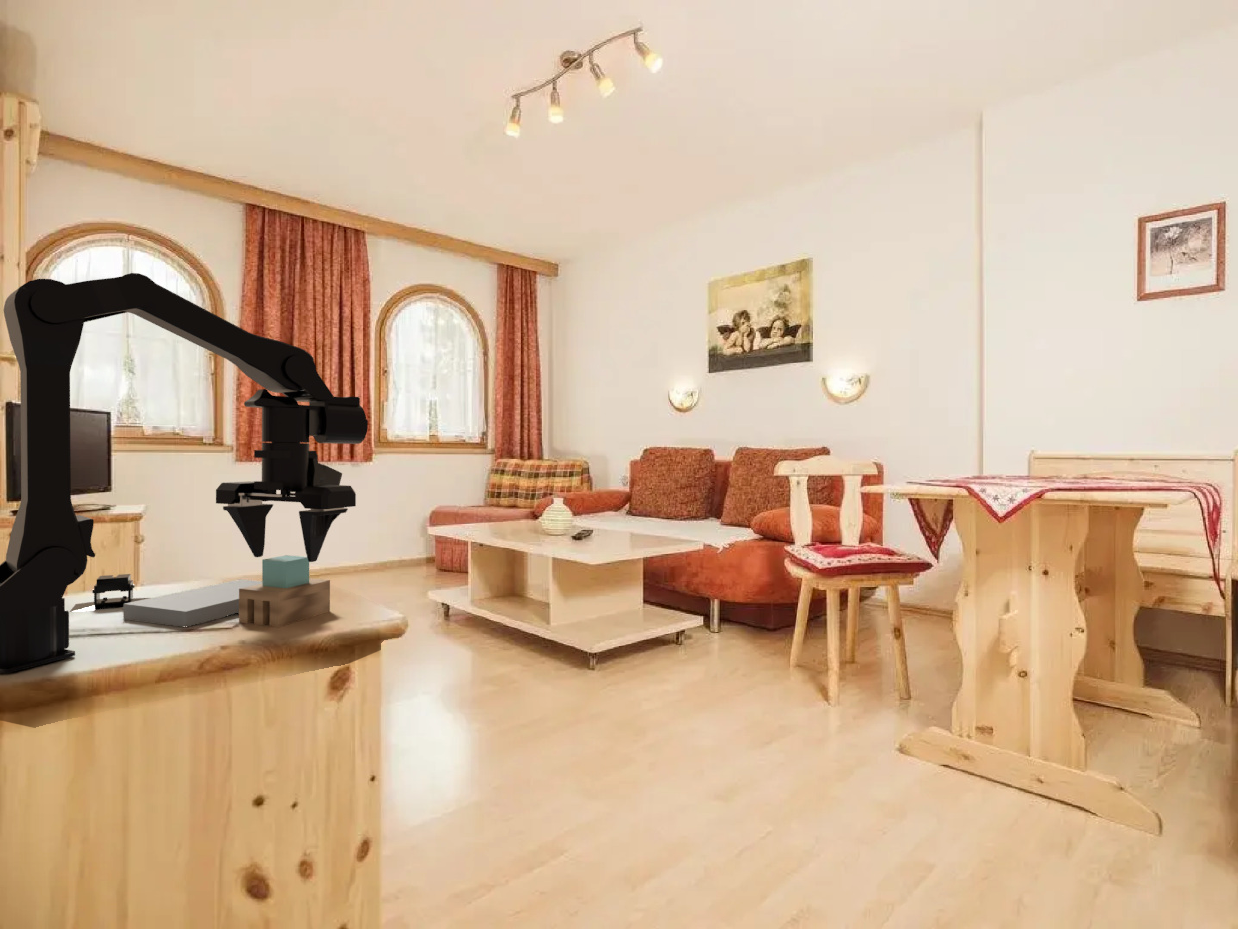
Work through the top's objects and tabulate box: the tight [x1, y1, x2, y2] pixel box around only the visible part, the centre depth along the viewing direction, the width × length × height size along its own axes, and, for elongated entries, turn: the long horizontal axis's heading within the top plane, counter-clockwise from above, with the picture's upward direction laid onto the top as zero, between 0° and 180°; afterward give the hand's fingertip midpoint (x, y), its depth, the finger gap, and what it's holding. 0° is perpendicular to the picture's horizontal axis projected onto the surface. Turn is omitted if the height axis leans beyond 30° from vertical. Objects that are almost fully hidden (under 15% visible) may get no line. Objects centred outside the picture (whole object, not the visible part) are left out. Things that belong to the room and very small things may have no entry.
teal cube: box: [261, 554, 310, 588], centre depth 91 cm, size 4×4×4 cm
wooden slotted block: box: [238, 577, 331, 628], centre depth 91 cm, size 9×6×4 cm
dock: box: [122, 578, 262, 628], centre depth 96 cm, size 18×11×2 cm, turn 161°
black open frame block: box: [69, 573, 150, 613], centre depth 97 cm, size 12×7×5 cm, turn 120°
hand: (285, 559), depth 91 cm, fingers open, 9 cm apart
